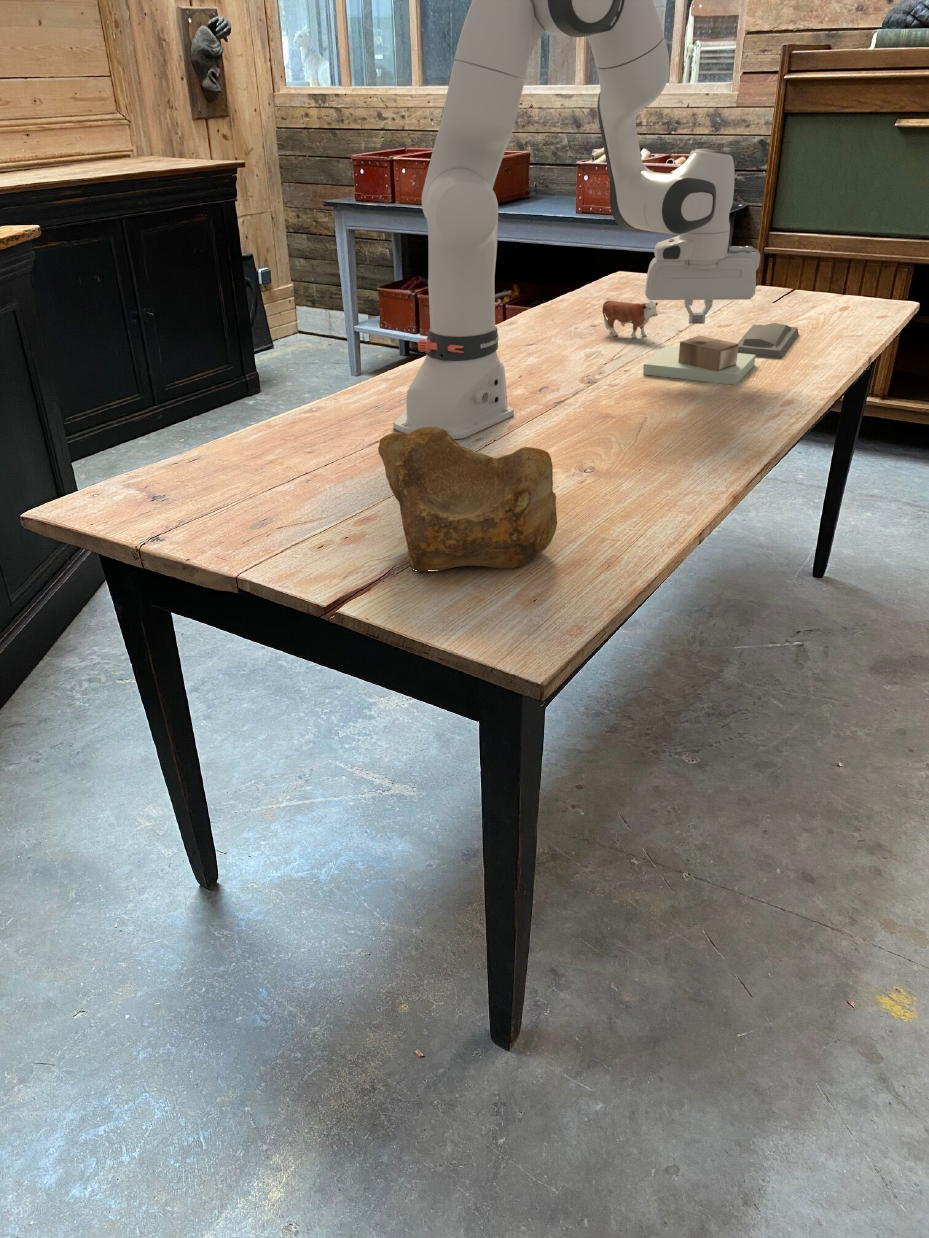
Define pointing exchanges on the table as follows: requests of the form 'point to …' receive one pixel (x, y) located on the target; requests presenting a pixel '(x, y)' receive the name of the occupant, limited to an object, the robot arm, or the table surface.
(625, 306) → the bull figurine
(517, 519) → the rough brown rock
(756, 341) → the soap mold
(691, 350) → the block
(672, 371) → the board
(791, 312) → the table surface
